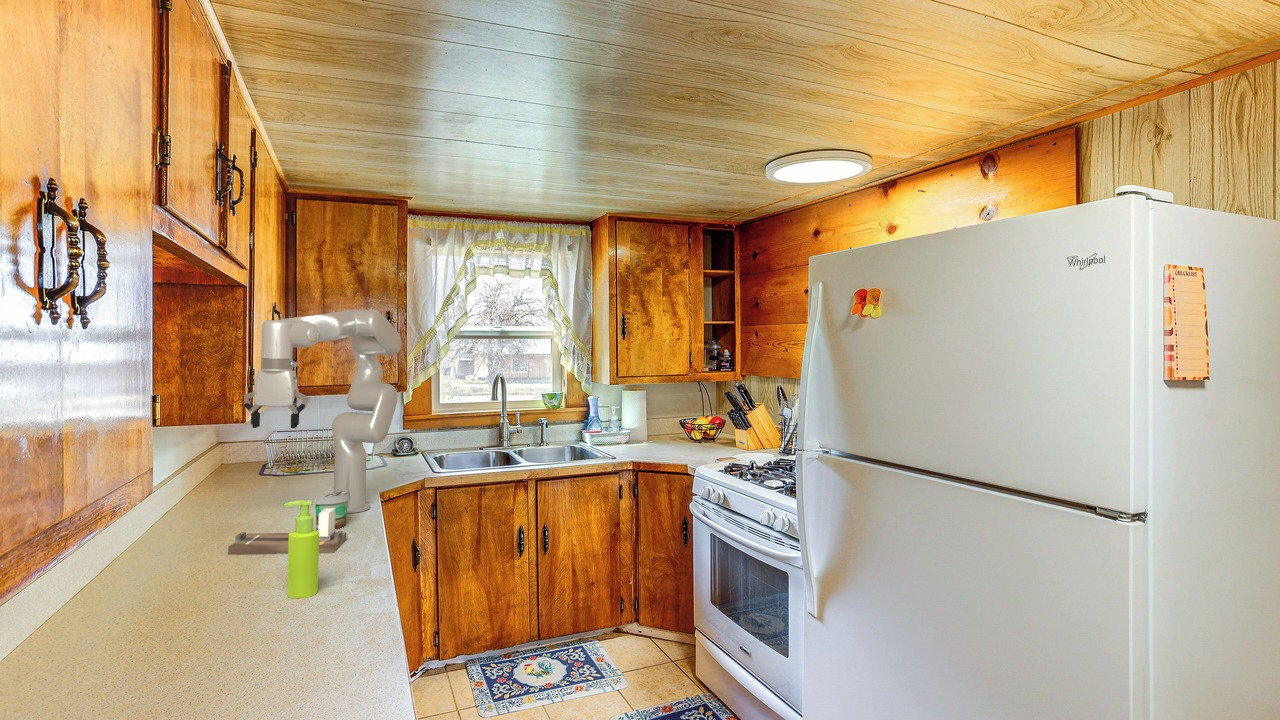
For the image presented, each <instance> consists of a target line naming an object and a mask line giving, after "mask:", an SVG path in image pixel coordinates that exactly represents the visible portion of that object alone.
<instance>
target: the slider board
mask: <svg viewBox="0 0 1280 720" xmlns="http://www.w3.org/2000/svg"><path fill="white" fill-rule="evenodd" d="M289 533H290V532H278V533H277V532H276V533H275V532H272V533H271V532H267V533H266V532H265V533H262V532H260V533H255V532H254V533H247V532H246V531H243V532H240V533H238V534H236V535H235V536H234V537H235V541H234V542H233V543H232V544H230V545H229V546H228V548H227V550H228V552H227V555H228V554H237V555H278V554H277V553H288V540H289ZM346 540H347V532H345V531H343V530H338V531H337V532H336V531H335V535H334V537H333V538H332V539H331V540H330V541H319V554H334V553H335V552H336V551H337V550H338V549H339V548H340V547H341V546H342V545H343V544H344V543H345V541H346Z"/></svg>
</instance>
